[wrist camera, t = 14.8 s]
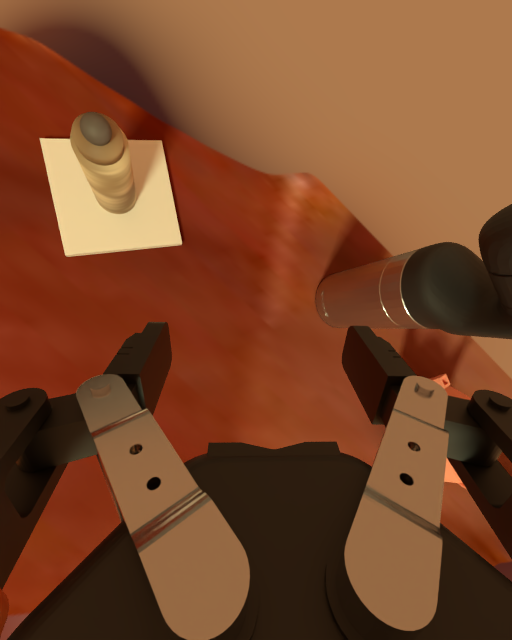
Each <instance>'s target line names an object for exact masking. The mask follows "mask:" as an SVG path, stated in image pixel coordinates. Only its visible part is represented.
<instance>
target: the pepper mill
mask: <svg viewBox="0 0 512 640" xmlns="http://www.w3.org/2000/svg"><path fill="white" fill-rule="evenodd" d="M70 142H71V146H72V149H73V151H74V153H75V155H76V157H77V159H78V162H79V164H80V166H81V168H82V170H83V172H84V174H85V176H86V178H87V181H88V183H89V185H90V187H91V189H92V191H93V193H94V195H95V198H96V200H97V202H98V203H99V205H100V206H101V207H102V208H103V209H105V210H106V211H108V212H110V213H114V214H124V213H127V212H129V211H130V210H132V208H133V207H134V206H135V204H136V199H137V197H136V190H135V183H134V176H133V170H132V163H131V156H130V150H129V143H128V140H127V138H126V136H125V134H124V133H123V131H122V130H121V129H120V128H119V126H118V125H117V124H116V123H115V122H114V121H113V120H112V119H111V118H109V117H108V116H106V115H104V114H101V113H97V112H88V113H84V114H81V115H80V116H78V117H77V118H76V119H75V120H74V122H73V125H72V131H71V134H70Z"/></svg>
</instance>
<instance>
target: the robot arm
mask: <svg viewBox="0 0 512 640" xmlns="http://www.w3.org/2000/svg"><path fill="white" fill-rule="evenodd" d="M479 247H480V252H481V256H482V260H483V261H482V260H481V259H480V258H479V257H478V256H477V255H475V254H474V253H473V252H472V251H471V250H469V249H468V248H466V247H465V246H462V245H460V244H457V243H452V242H443V243H438V244H434V245H430V246H427V247H424V248H421V249H418V250H414V251H411V252H407V253H404V254H401V255H397V256H394V257H390V258H387V259H383V260H380V261H377V262H373V263H370V264H366V265H363V266H359V267H356V268H352V269H349V270H345V271H342V272H338V273H335V274H332V275H329V276H327V277H326V278H325V279H324V280H323V281H322V282H321V283H320V285H319V287H318V289H317V293H316V307H317V310H318V313H319V315H320V316H321V318H322V319H323V320H324V321H325V322H326V323H327V324H329V325H330V326H332V327H336V328H348V331H347V336H346V340H345V345H344V349H343V353H342V365H343V368H344V370H345V372H346V374H347V376H348V378H349V380H350V382H351V384H352V386H353V388H354V390H355V392H356V394H357V396H358V398H359V400H360V402H361V404H362V405H363V407H364V409H365V411H366V413H367V415H368V417H369V419H370V421H371V423H372V424H384V425H385V427H386V429H385V432H384V435H383V438H382V440H381V443H380V446H379V449H378V451H377V454H376V457H375V460H374V463H373V465H372V467H371V466H370V465H368V464H367V463H365V462H363V461H361V460H360V459H357V458H355V457H353V456H350V455H347V454H344V453H340V451H339V448H338V445H337V442H304V443H300V444H296V445H292V446H288V447H284V448H280V449H268V448H263V447H259V446H254V445H250V444H245V443H209V445H208V453H207V454H203V455H200V456H197V457H195V458H193V459H191V460H189V461H187V462H185V463H183V462H182V461H181V459H180V458H179V456H178V454H177V453H176V451H175V450H174V448H173V447H172V445H171V444H170V442H169V441H168V439H167V438H166V436H165V434H164V433H163V431H162V430H161V428H160V427H159V425H158V424H157V422H156V421H155V419H154V417H153V413H154V410H155V408H156V405H157V402H158V399H159V396H160V394H161V391H162V388H163V385H164V383H165V380H166V377H167V374H168V372H169V369H170V366H171V360H172V352H171V344H170V335H169V327H168V323H167V322H148V324H147V325H146V327H145V329H144V330H143V332H142V333H135V334H134V335H132V336H131V337H129V338H128V339H126V341H125V342H124V344H123V345H122V347H121V349H120V350H119V351H118V353H117V355H115V357H114V358H113V360H112V361H111V363H110V364H109V366H108V367H107V369H106V370H105V372H104V373H103V375H99V376H96V377H93V378H91V379H89V380H87V381H85V382H84V383H83V384H81V386H80V387H79V388H78V389H77V392H76V393H75V394H71V395H66V396H61V397H56V398H51V399H48V396H47V394H46V392H45V391H44V390H42V389H39V388H27V389H22V390H18V391H16V392H13V393H10V394H8V395H6V396H4V397H3V398H1V399H0V637H1V633H2V630H3V627H4V624H5V622H6V619H7V616H8V611H9V602H8V598H7V596H6V594H5V593H4V592H3V591H2V589H3V587H4V585H5V583H6V581H7V579H8V577H9V575H10V573H11V571H12V570H13V568H14V566H15V564H16V562H17V560H18V558H19V556H20V554H21V552H22V550H23V548H24V547H25V545H26V543H27V541H28V539H29V537H30V535H31V533H32V531H33V529H34V527H35V525H36V524H37V522H38V520H39V518H40V516H41V514H42V512H43V510H44V508H45V506H46V504H47V502H48V501H49V499H50V497H51V495H52V493H53V491H54V489H55V487H56V485H57V483H58V481H59V479H60V478H61V476H62V474H63V472H64V470H65V468H66V466H67V464H68V462H71V461H75V460H78V459H82V458H86V457H89V456H93V455H96V456H97V459H98V461H99V464H100V467H101V469H102V472H103V475H104V477H105V480H106V483H107V485H108V488H109V491H110V493H111V496H112V499H113V502H114V504H115V507H116V510H117V513H118V516H119V519H120V521H121V523H120V524H119V525H118V526H117V527H116V528H115V529H114V530H113V531H112V532H111V533H110V534H109V535H108V536H107V537H106V538H105V539H104V540H103V541H102V542H101V543H100V544H99V545H98V546H97V547H96V548H95V549H94V550H93V551H92V552H91V553H90V554H89V555H88V556H87V557H86V558H85V559H84V560H83V561H82V562H81V563H80V564H79V565H78V566H77V567H76V568H75V569H74V570H73V571H72V572H71V573H70V574H69V575H68V576H67V577H66V578H65V579H64V580H63V581H62V582H61V583H60V584H59V585H58V586H57V587H56V588H55V589H54V590H53V591H52V592H51V593H50V594H49V595H48V596H47V597H46V598H45V599H44V600H43V601H42V602H41V603H40V604H39V605H38V606H37V607H36V608H35V609H34V610H33V611H32V612H31V613H30V614H29V615H28V616H27V617H26V618H25V619H24V621H23V622H22V623H21V624H20V625H19V626H18V627H17V628H16V629H15V631H14V632H13V633H12V634H11V635H10V637H9V638H8V639H7V640H512V582H511V581H510V580H509V579H508V578H506V577H505V576H504V575H503V574H502V573H500V572H499V571H498V570H497V569H495V568H494V567H493V566H492V565H491V564H489V563H488V562H487V561H486V560H485V559H483V558H482V557H481V556H480V555H479V554H477V553H476V552H475V551H474V550H472V549H471V548H470V547H469V546H468V545H466V544H465V543H464V542H463V541H462V540H460V539H459V538H458V537H457V536H456V535H454V534H453V533H452V532H451V531H449V530H448V529H447V528H446V527H445V526H443V525H442V524H441V523H440V517H441V507H442V497H443V487H444V478H445V468H446V458H447V459H448V461H449V462H450V464H451V465H452V467H453V468H454V470H455V472H456V473H457V475H458V476H459V478H460V479H461V481H462V482H463V484H464V486H465V487H466V489H467V490H468V492H469V493H470V495H471V496H472V498H473V500H474V501H475V503H476V504H477V506H478V507H479V509H480V510H481V512H482V514H483V515H484V517H485V518H486V520H487V521H488V523H489V524H490V526H491V528H492V529H493V531H494V532H495V534H496V535H497V537H498V538H499V540H500V542H501V543H502V545H503V546H504V548H505V549H506V551H507V552H508V554H509V556H510V557H511V559H512V477H511V476H510V475H509V474H508V472H507V471H506V470H505V469H504V467H503V466H502V465H501V464H500V463H499V461H498V460H497V458H498V457H499V455H500V454H501V453H502V452H503V453H504V454H505V455H506V456H507V457H508V459H509V460H510V461H511V462H512V399H510V398H508V397H506V396H504V395H502V394H500V393H497V392H493V391H489V390H478V391H475V392H474V394H473V396H472V398H471V400H467V399H462V398H458V397H453V396H449V395H447V392H446V391H445V389H444V388H443V387H442V386H441V385H439V384H438V383H436V382H435V381H433V380H430V379H428V378H425V377H421V376H417V375H416V374H415V373H414V372H413V371H412V369H411V368H410V367H409V366H408V365H407V363H406V362H405V361H404V360H403V359H402V358H401V356H400V355H399V354H398V353H397V352H396V350H395V349H394V348H393V347H392V346H391V344H390V343H388V342H387V341H385V340H384V339H382V338H381V337H377V336H376V335H375V334H374V333H373V331H372V330H371V329H370V328H389V329H441V330H443V331H445V332H448V333H451V334H456V335H465V336H479V337H492V338H504V339H512V204H511V205H509V206H507V207H505V208H504V209H502V210H501V211H499V212H498V213H496V214H495V215H494V216H492V217H491V218H490V219H489V220H488V221H487V222H486V223H485V224H484V226H483V227H482V229H481V231H480V234H479Z"/></svg>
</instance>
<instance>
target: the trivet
mask: <svg viewBox="0 0 512 640" xmlns="http://www.w3.org/2000/svg"><path fill="white" fill-rule="evenodd" d="M40 142H41V146H42V151H43V156H44V160H45V165H46V169H47V174H48V178H49V183H50V188H51V192H52V197H53V201H54V206H55V211H56V215H57V220H58V224H59V229H60V233H61V238H62V243H63V247H64V252H65V255H66V256H67V257H70V256H80V255H90V254H100V253H109V252H119V251H129V250H139V249H148V248H158V247H168V246H178V245H182V240H181V235H180V230H179V225H178V220H177V215H176V210H175V205H174V200H173V195H172V190H171V185H170V180H169V175H168V170H167V165H166V160H165V155H164V150H163V145H162V140H128V143H129V150H130V156H131V163H132V170H133V176H134V183H135V190H136V197H137V199H136V204H135V206H134V207H133V208H132V210H130V211H129V212H127V213H124V214H114V213H110V212H108V211H106V210H105V209H103V208H102V207H101V206H100V205H99V203H98V202H97V200H96V198H95V195H94V193H93V191H92V189H91V187H90V185H89V183H88V181H87V178H86V176H85V174H84V172H83V170H82V168H81V166H80V164H79V162H78V159H77V157H76V155H75V153H74V151H73V149H72V146H71V142H70V139H45V138H40Z"/></svg>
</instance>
